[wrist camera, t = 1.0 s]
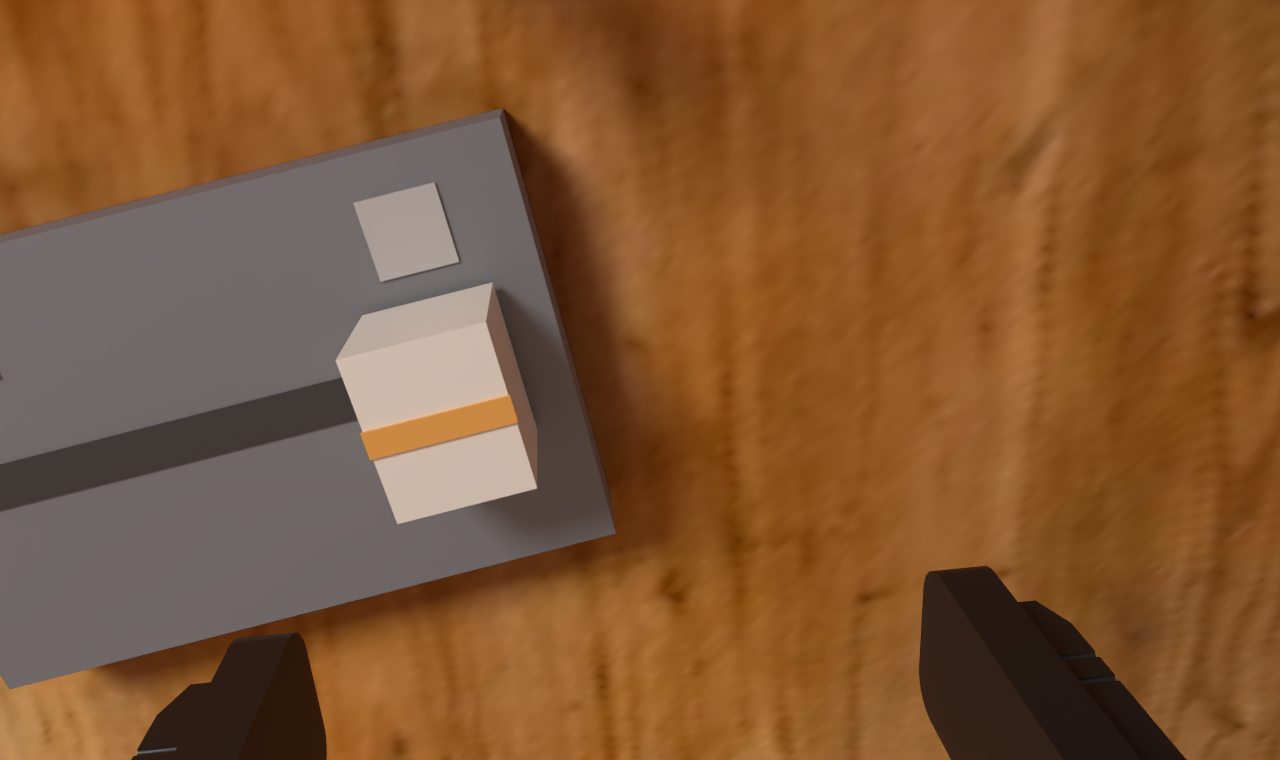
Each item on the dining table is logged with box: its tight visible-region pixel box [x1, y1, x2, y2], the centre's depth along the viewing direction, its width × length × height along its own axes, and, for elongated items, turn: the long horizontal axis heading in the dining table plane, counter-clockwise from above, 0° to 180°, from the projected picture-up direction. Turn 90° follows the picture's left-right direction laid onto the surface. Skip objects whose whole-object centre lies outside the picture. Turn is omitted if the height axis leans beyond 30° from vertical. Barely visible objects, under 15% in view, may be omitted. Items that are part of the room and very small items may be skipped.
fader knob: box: [335, 282, 537, 524], centre depth 27 cm, size 4×5×4 cm
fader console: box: [0, 108, 616, 689], centre depth 31 cm, size 21×14×3 cm, turn 103°
